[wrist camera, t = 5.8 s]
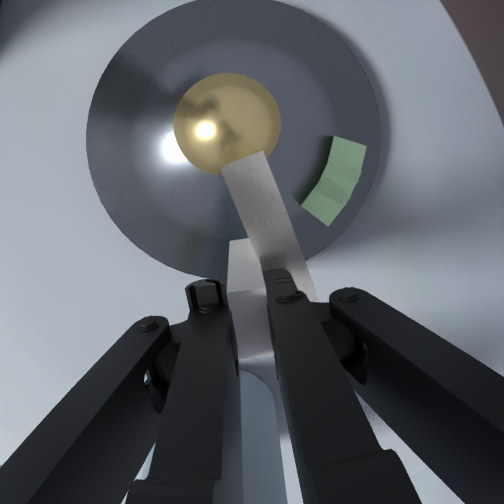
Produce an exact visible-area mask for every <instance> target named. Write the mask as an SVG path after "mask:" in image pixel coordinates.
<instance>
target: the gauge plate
mask: <svg viewBox="0 0 504 504" xmlns="http://www.w3.org/2000/svg"><path fill="white" fill-rule="evenodd" d="M220 73H236V74H242V75H245V76H248V77H250V78H252V79H254V80H256V81H258V82H259V83H261V84H262V85H263V86H264V87H265V88H266V89H267V90H268V91H269V92H270V93H271V95H272V96H273V97H274V99H275V101H276V103H277V105H278V108H279V112H280V117H281V130H280V135H279V139H278V141H277V144H276V146H275V148H274V150H273V151H272V153H271V154H270V155H269V157H268V158H267V162H268V164H269V167H270V169H271V172H272V174H273V177H274V180H275V182H276V185H277V187H278V190H279V192H280V195H281V198H282V200H283V203H284V206H285V208H286V211H287V214H288V216H289V219H290V222H291V224H292V227H293V230H294V232H295V235H296V238H297V241H298V243H299V246H300V249H301V252H302V254H303V257H304V260H305V261H306V260H308V259H309V258H311V257H313V256H314V255H316V254H317V253H318V252H320V251H321V250H323V249H324V248H325V247H327V246H328V245H329V244H330V243H331V242H332V241H333V240H335V239H336V238H337V237H338V236H339V235H340V234H341V233H342V232H343V231H344V229H345V228H346V227H347V226H348V225H349V223H350V222H351V221H352V220H353V218H354V217H355V215H356V214H357V212H358V211H359V209H360V207H361V206H362V204H363V203H364V201H365V198H366V196H367V194H368V192H369V190H370V187H371V185H372V182H373V179H374V175H375V172H376V169H377V164H378V158H379V151H380V122H379V113H378V108H377V104H376V100H375V97H374V93H373V90H372V88H371V85H370V83H369V80H368V78H367V76H366V74H365V72H364V70H363V69H362V67H361V65H360V63H359V62H358V60H357V58H356V57H355V56H354V55H353V53H352V52H351V51H350V49H349V48H348V47H347V46H346V44H345V43H344V42H343V41H342V40H341V39H340V38H339V37H338V36H337V35H336V34H335V33H334V32H333V31H331V30H330V29H329V28H328V27H326V26H325V25H324V24H322V23H321V22H320V21H318V20H317V19H315V18H313V17H312V16H310V15H308V14H306V13H305V12H303V11H301V10H299V9H296V8H294V7H292V6H289V5H286V4H284V3H281V2H277V1H274V0H196V1H193V2H189V3H186V4H183V5H181V6H178V7H176V8H174V9H171V10H169V11H167V12H165V13H163V14H161V15H160V16H158V17H156V18H155V19H153V20H151V21H150V22H148V23H147V24H146V25H144V26H143V27H142V28H141V29H139V30H138V31H137V32H135V33H134V34H133V35H132V36H131V37H130V38H129V39H128V40H127V41H126V42H125V43H124V44H123V45H122V47H121V48H120V49H119V50H118V52H117V53H116V54H115V55H114V57H113V58H112V59H111V61H110V62H109V64H108V66H107V67H106V69H105V71H104V73H103V74H102V76H101V78H100V80H99V83H98V85H97V88H96V90H95V92H94V95H93V99H92V102H91V106H90V110H89V115H88V122H87V130H86V149H87V157H88V164H89V169H90V173H91V177H92V180H93V184H94V187H95V189H96V191H97V194H98V196H99V198H100V201H101V203H102V204H103V206H104V208H105V209H106V211H107V213H108V214H109V216H110V218H111V219H112V220H113V222H114V223H115V224H116V225H117V227H118V228H119V229H120V230H121V232H122V233H123V234H124V235H125V236H126V237H127V238H128V239H129V240H130V241H131V242H133V243H134V244H135V245H136V246H137V247H138V248H140V249H141V250H142V251H144V252H145V253H146V254H148V255H149V256H151V257H152V258H154V259H156V260H158V261H159V262H161V263H163V264H165V265H167V266H169V267H171V268H174V269H176V270H179V271H182V272H184V273H188V274H191V275H195V276H199V277H203V278H215V279H220V278H227V277H228V261H229V244H230V241H232V240H239V239H246V238H249V237H248V235H247V232H246V230H245V227H244V225H243V223H242V220H241V218H240V215H239V213H238V210H237V208H236V206H235V203H234V201H233V198H232V196H231V194H230V191H229V189H228V186H227V184H226V182H225V179H224V177H223V176H219V175H214V174H210V173H207V172H204V171H202V170H200V169H199V168H197V167H195V166H194V165H193V164H192V163H190V162H189V161H188V160H187V159H186V158H185V156H184V155H183V154H182V152H181V151H180V149H179V147H178V145H177V142H176V139H175V134H174V116H175V112H176V109H177V106H178V104H179V102H180V100H181V98H182V97H183V96H184V94H185V93H186V92H187V91H188V90H189V89H190V88H191V87H192V86H193V85H194V84H195V83H197V82H199V81H200V80H202V79H204V78H206V77H209V76H212V75H215V74H220ZM261 270H262V269H261ZM262 272H263V271H262Z"/></svg>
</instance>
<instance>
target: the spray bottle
mask: <svg viewBox="0 0 504 504" xmlns="http://www.w3.org/2000/svg"><path fill="white" fill-rule="evenodd" d="M240 385H241V427H242V463H243V494H244V504H287V495H286V487H285V479H284V471H283V463H282V455H281V447H280V439H279V431H278V423H277V415H276V407H275V401H274V395H273V393H272V392H271V390H270V389H269V387H268V386H267V384H266V383H265V382H263V381H262V380H261V379H259V378H258V377H257V376H255V375H254V374H253V373H250V372H247V371H245V370H242V369H240ZM155 443H156V442H155ZM154 447H155V444H154V446H153V448H152V449H151V451H150V453H149V455H148V456H147V458H146V462H145V465H144V469H143V473H142V477H141V480H144V479H145V478H146V477H147V476H148V473H149V469H150V464H151V460H152V455H153V451H154Z"/></svg>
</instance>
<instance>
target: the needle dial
mask: <svg viewBox="0 0 504 504" xmlns="http://www.w3.org/2000/svg"><path fill="white" fill-rule="evenodd" d="M280 130H281V117H280V112H279V108H278V105H277V103H276V101H275V99H274V97H273V96H272V95H271V93H270V92H269V91H268V90H267V89H266V88H265V87H264V86H263V85H262V84H261V83H259V82H258V81H256V80H254V79H252V78H250V77H248V76H245V75H242V74H236V73H220V74H215V75H212V76H209V77H206V78H204V79H202V80H200V81H199V82H197V83H195V84H194V85H193V86H192V87H191V88H190V89H189V90H188V91H187V92H186V93H185V94H184V96H183V97H182V98H181V100H180V102H179V104H178V106H177V109H176V112H175V116H174V134H175V139H176V142H177V145H178V147H179V149H180V151H181V152H182V154H183V155H184V156H185V158H186V159H187V160H188V161H189V162H190V163H192V164H193V165H194V166H195V167H197V168H199V169H200V170H202V171H204V172H207V173H210V174H214V175H219V176H223V177H224V179H225V182H226V184H227V186H228V189H229V191H230V194H231V196H232V198H233V201H234V203H235V206H236V208H237V210H238V213H239V215H240V218H241V220H242V223H243V225H244V227H245V230H246V232H247V235H248V237H249V239H250V242H251V244H252V247H253V249H254V252H255V254H256V256H257V257H259V261H260V265H261V269H262V271H263V272H264V271H270V270H277V269H285V270H287V271H289V272H290V273H291V275H292V278H293V280H294V282H295V284H296V286H297V288H298V290H300V291H303V292H304V293H305V294H306V295H307V297H308V299H309V301H311V302H314V301H317V300H318V297H317V294H316V291H315V288H314V285H313V283H312V280H311V277H310V274H309V271H308V268H307V266H306V263H305V260H304V257H303V254H302V252H301V249H300V246H299V243H298V241H297V238H296V235H295V232H294V230H293V227H292V224H291V222H290V219H289V216H288V214H287V211H286V208H285V206H284V203H283V200H282V198H281V195H280V192H279V190H278V187H277V185H276V182H275V180H274V177H273V174H272V172H271V169H270V167H269V164H268V162H267V158H268V157H269V155H270V154H271V153H272V151H273V150H274V148H275V146H276V144H277V141H278V139H279V135H280Z"/></svg>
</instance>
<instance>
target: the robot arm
mask: <svg viewBox="0 0 504 504" xmlns="http://www.w3.org/2000/svg"><path fill="white" fill-rule="evenodd" d="M0 3H1V0H0ZM185 291H186V296H187V300H188V304H189V309H190V312H189V316H188V319H187V320H186V321H184V322H181V323H178V324H175V325H171V326H169V322H168V320H167V318H165V317H162V316H148V317H144V318H143V319H141V320H139V321H137V322H136V323H134V324H133V325H132V326H131V327H130V328H129V329H128V330H127V331H126V332H125V333H124V334H123V335H122V336H121V337H120V338H119V339H118V340H117V341H116V343H115V344H114V345H113V346H112V347H111V348H110V349H109V350H108V351H107V352H106V353H105V354H104V355H103V356H102V357H101V358H100V359H99V360H98V361H97V362H96V363H95V364H94V365H93V367H92V368H91V369H90V370H89V371H88V372H87V373H86V374H85V375H84V376H83V377H82V378H81V379H80V380H79V381H78V382H77V383H76V385H75V386H74V387H73V388H72V389H71V390H70V391H69V392H68V393H67V394H66V395H65V396H64V397H63V398H62V400H61V401H60V402H59V403H58V404H57V405H56V406H55V407H54V408H53V409H52V410H51V412H50V413H49V414H48V415H47V416H46V417H45V418H44V419H43V420H42V421H41V423H40V424H39V425H38V426H37V427H36V428H35V429H34V430H33V431H32V433H31V434H30V435H29V436H28V437H27V438H26V439H25V440H24V441H23V443H22V444H21V445H20V446H19V447H18V448H17V449H16V451H15V452H14V453H13V454H12V455H11V456H10V457H9V459H8V460H7V461H6V462H5V463H4V464H3V465H2V467H1V468H0V504H121V502H122V501H123V499H124V497H125V495H126V494H127V492H128V494H127V498H126V502H125V504H244V494H243V463H242V427H241V385H240V365H239V360H246V359H254V358H261V357H268V356H274V357H275V365H276V373H277V380H278V379H279V384H280V389H281V394H282V399H283V404H284V409H285V414H286V419H287V424H288V429H289V434H290V439H291V444H292V448H293V453H294V458H295V463H296V468H297V473H298V478H299V483H300V488H301V493H302V498H303V503H304V504H422V503H421V500H420V498H419V496H418V494H417V492H416V490H415V488H414V486H413V484H412V482H411V480H410V478H409V475H408V473H407V471H406V469H405V467H404V465H403V463H402V461H401V459H400V458H399V456H398V455H397V453H396V452H395V451H393V450H392V449H388V450H383V449H382V448H381V446H380V445H379V443H378V441H377V438H376V436H375V434H374V432H373V430H372V428H371V426H370V423H369V421H368V419H367V417H366V415H365V413H364V411H363V409H362V407H361V404H360V402H359V400H358V398H357V396H356V394H355V392H354V390H355V391H356V392H357V393H358V394H359V396H360V397H361V398H362V399H363V400H364V401H365V402H366V403H367V404H368V405H369V406H370V407H371V408H372V409H373V410H374V411H375V412H376V413H377V414H378V415H379V416H380V418H381V419H382V420H383V421H384V422H385V423H386V424H387V425H388V426H389V427H390V428H391V429H392V430H393V431H394V432H395V433H396V434H397V435H398V436H399V437H400V438H401V439H402V440H403V441H404V442H405V443H406V444H407V445H408V447H409V448H410V449H411V450H412V451H413V452H414V453H415V454H416V455H417V456H418V457H419V458H420V459H421V460H422V461H423V462H424V463H425V464H426V465H427V466H428V467H429V468H430V469H431V470H432V471H433V472H434V473H435V474H436V475H437V476H438V477H439V478H440V479H441V480H442V481H443V482H444V483H445V484H446V485H447V486H448V487H449V488H450V489H451V490H452V491H453V492H454V493H455V494H456V495H457V496H458V497H459V498H460V499H461V500H462V501H463V502H464V503H465V504H504V377H503V376H501V375H500V374H498V373H497V372H495V371H494V370H492V369H490V368H489V367H487V366H486V365H484V364H483V363H481V362H480V361H478V360H476V359H475V358H473V357H472V356H470V355H469V354H467V353H465V352H464V351H462V350H461V349H459V348H457V347H456V346H454V345H453V344H451V343H449V342H448V341H446V340H445V339H443V338H441V337H440V336H438V335H437V334H435V333H433V332H432V331H430V330H429V329H427V328H425V327H424V326H422V325H420V324H419V323H417V322H416V321H414V320H412V319H411V318H409V317H407V316H406V315H404V314H403V313H401V312H399V311H398V310H396V309H394V308H393V307H391V306H389V305H388V304H386V303H384V302H383V301H381V300H379V299H378V298H376V297H375V296H373V295H371V294H370V293H368V292H366V291H364V290H362V289H357V288H354V287H349V288H348V287H346V288H343V289H339V290H336V291H334V292H332V293H331V294H330V297H329V302H327V303H320V302H311V301H309V299H308V297H307V295H306V294H305V293H304V292H303V291H300V290H298V288H297V286H296V284H295V282H294V280H293V278H292V275H291V273H290V272H289V271H287V270H285V269H277V270H270V271H264V272H262V270H261V265H260V261H259V257H257V256H256V254H255V252H254V249H253V247H252V244H251V242H250V239H249V238H246V239H239V240H232V241H230V244H229V261H228V277H227V278H220V279H215V278H210V279H203V280H198V281H195V282H193V283H191V284H189V285H187V287H186V288H185ZM238 357H239V360H238ZM145 373H146V376H147V380H146V381H145V382H144V377H145ZM353 389H354V390H353ZM155 442H156V443H155ZM154 444H155V447H154V451H153V455H152V460H151V464H150V469H149V473H148V476H147V477H146V478H145V479H144V480H140V479H136V480H135V481H134V479H135V478H136V476H137V474H138V472H139V471H140V469H141V467H142V465H143V464H144V462H145V460H146V458H147V456H148V455H149V453H150V451H151V449H152V448H153V446H154ZM133 481H134V482H133ZM128 490H129V491H128Z"/></svg>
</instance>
